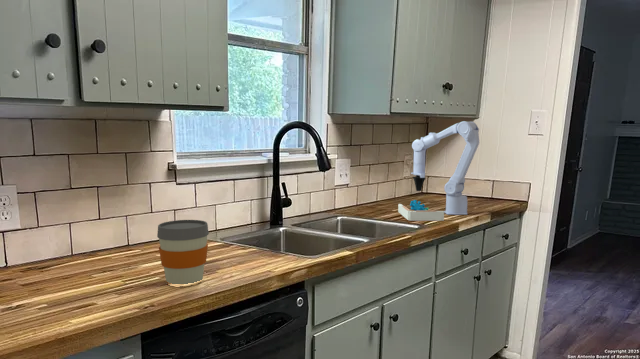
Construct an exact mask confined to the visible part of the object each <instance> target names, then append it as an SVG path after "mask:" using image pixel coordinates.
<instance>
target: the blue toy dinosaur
mask: <svg viewBox="0 0 640 359" xmlns="http://www.w3.org/2000/svg"><path fill="white" fill-rule="evenodd" d="M421 203H422V202H421V200H416V199H413V200H411V201H410V204H409V206H410V211H429V210H430V208H429V207H426V205H425V204H424V203H422V204H421Z"/></svg>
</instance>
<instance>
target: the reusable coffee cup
mask: <svg viewBox="0 0 640 359" xmlns="http://www.w3.org/2000/svg"><path fill="white" fill-rule="evenodd" d="M209 233H210V232H209V224H208V221H204V220H199V219H179V220H178V219H176V220H170V221H164V222H161V223H159V224H158V225H157V235H156V237H157V238H158V240H159V247H158V251H159V252H158V253H159V257H160V262H161V266H162V267H163V271H164V277H165V282H166V281H167V282H169V283H172V284H188V283H194V282H197V281H200V280H202V279H203V280H204V272H205V270H204V269H205V264H206V263H207V257H208V248H209V247H208V246H209V244H208V243H207V242H208V235H209Z"/></svg>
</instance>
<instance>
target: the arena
mask: <svg viewBox="0 0 640 359" xmlns="http://www.w3.org/2000/svg"><path fill="white" fill-rule="evenodd" d="M397 209H398V210H397V212H398V213H399V214H400V215H401V216H403V218H405V219H406V220H408V221H411V222H413V221H414V222H417V221H418V222H422V221H426V222H427V221H428V222H429V221H430V222H431V221H432V222H433V221H438V222H441V221H443V222H444V221H445V213H444V211H445V210H433V209H432V210H427V211H415V210H411V208H408V207H407V206H406V205H403V204H402V203H398V208H397Z"/></svg>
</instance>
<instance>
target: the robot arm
mask: <svg viewBox="0 0 640 359" xmlns="http://www.w3.org/2000/svg"><path fill="white" fill-rule="evenodd" d="M479 131H480V128H479V127H478V124H476V123H475V122H474V121H465V120H463V121H460V122H457V123H454V124H453V125H450V126H449V127H447V128H445V129H443V130H441V131H440V132H437V133H436V132H429V133H428V135H425V136H421V137H420V139H419V138H417V139H415V140H414V141H412V144H411V148H412V149H413V171H412V172H410V174H411V175H413V176H412V180H413V181H414V185H415V190H416V192H421V191H422V189H423V186H424V182H425V180H426V151H427V149H429V148H431V147H433V146H435V145H438V144H439V143H440V141H441V140H442V139H445V138H447V137H450V136H452V135H455V134H459V135H460V136H461V137H462V138H463V139H464V142H465V143H466V144H465V146H464V149H463V151H462V154H461V155H460V159H459V160H458V163H457V165H456V168H455V170H454V173H453V174H452V176H450V178H449V180H448V181H447V182H446V183H445V184H444V192H445V193H446V194H445V198H446V199H445V201H446V202H445V210H443V211H444V214H446V215H447V216H448V215H456V216H457V215H460V216H461V215H468V196H467V195H465V194H464V195H463V192H464V190H465V183H466V178H465V177H466V175H467V172H468V170H469V169H470V167H471V164H472V162H473V160H474V156H475V154H476V152H477V149H478V147H479V145H480V136H479Z"/></svg>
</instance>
